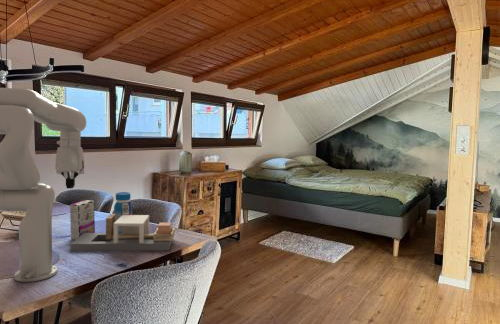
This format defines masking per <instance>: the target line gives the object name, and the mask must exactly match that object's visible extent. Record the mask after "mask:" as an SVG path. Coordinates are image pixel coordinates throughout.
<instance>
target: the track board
mask: <svg viewBox="0 0 500 324" xmlns="http://www.w3.org/2000/svg"><path fill="white" fill-rule="evenodd" d="M118 226H122V233H118ZM154 233H155V232H150V215H149V214H132V215H122V216H121V217H120V218H119V219H118V220H117V221H116V222H115V223H114V238H111V239H106V232H95V233H83V234H82V235H81V236H80V237H78V238H77V239H76V240H73V241H72V242H71V243H70V244H69V245H70V249H69V251H70V252H101V251H102V252H103V251H104V252H110V251H111V252H112V251H113V252H117V251H121V252H122V251H123V252H124V251H130V252H131V251H133V252H134V251H142V252H143V251H170V249H171V246H172V243H173V240H174V239H173V240H172V241H154V238H144V234H154ZM118 234H139V238H118Z"/></svg>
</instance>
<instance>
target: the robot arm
mask: <svg viewBox="0 0 500 324" xmlns="http://www.w3.org/2000/svg"><path fill="white" fill-rule="evenodd" d="M35 122H36V123H39V124H42V125H45V126H46V127H47V129H49V130H51V131H52V132H53V131H54V132H60V133H59V134H60V135H59V138H60V139H59V140H57V141H56V144H57V145H59V147H57V150H56V155H55V165H54V169H55V170H56V171H55V172H56V173H55V174H57V175H61V176H62V177H64V179H65V187H66V189H73V188H75V184H76V182H75V181H76V178H77V177H79V176H80V175H83V174H85V171H84V169H85V157H84V150H83V147H81V144H82V143H81V139H82V138H81V135H82V131H84V130H85V128H86V127H87V119H86V116H85V115H84V113H83V112H82V111H80V110H79V109H77V108H75V107H72V106H69V105H65V104H61V103H58V102H54V101H51V100H49V99H48V98H46V97H45V96H43V95H41V94H40V93H38V92H37V91H34V90H32V89H28V88H15V87H14V88H13V87H12V88H11V87H0V135H5V136H4V138H3V139H2V141H0V211H3V212H24V213H26V214H25V216H24V217H23V218H22V219H21V220H20V223H19V224H18V247H19V248H18V251H19V257H18V258H19V270H17V271H16V272H15V273H14V274H13V276H14V277H13V278H14V280H15V281H18V282H22V283H27V282H30V283H31V282H32V283H33V282H38V281H43V280H46V279H49V278H51V277H53V276H55V275H56V274H57V273H58V267H57V266H56V265H53V225H52V223H53V221H52V220H53V219H52V218H53V209H54V202H55V199H56V198H55V190H54V188H53V187H52V186H50V185H49V184H46V183H40V181H41V175H40V172H39V169H38V167H37V165H36V163H35V161H34V159H33V157H32V155H31V152H30V150H29V144H30V141H31V136H32V133H33V130H34V127H35V126H34V125H35Z"/></svg>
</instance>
